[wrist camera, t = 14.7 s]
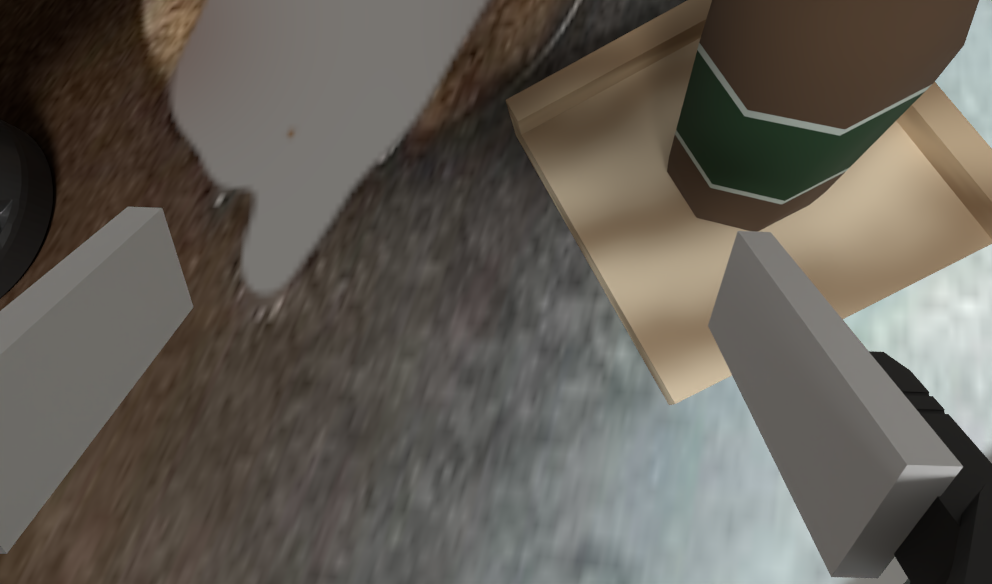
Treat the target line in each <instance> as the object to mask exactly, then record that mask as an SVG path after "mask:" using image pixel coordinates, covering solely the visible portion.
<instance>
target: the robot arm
mask: <svg viewBox="0 0 992 584" xmlns="http://www.w3.org/2000/svg"><path fill="white" fill-rule="evenodd" d="M52 203H53V183H52V176H51V171H50V167H49V164H48V161H47V159H46V157H45V155H44V153H43V151H42V149H41V148H40V146H39V145H38V144H37V143H36V141H35V140H34V139H33V138H32V137H31V136H29V135H28V134H27V133H25V132H24V131H22V130H21V129H19V128H17V127H15V126H13V125H11V124H9V123H7V122H5V121H3V120H1V119H0V298H1V297H2V296H3V295H4V294H5V293H6V292H7V291H8V290H9V289H10V288H11V287H12V286H13V285H14V284H15V283H16V282H17V281H18V280H19V279H20V277H21V276H22V275H23V274H24V272H25V271H26V270H27V268H28V267H29V265H30V264H31V262H32V260H33V259H34V257H35V255H36V254H37V252H38V250H39V248H40V246H41V243H42V241H43V239H44V236H45V234H46V231H47V228H48V224H49V220H50V216H51V211H52ZM192 308H193V304H192V301H191V298H190V295H189V292H188V289H187V285H186V282H185V279H184V276H183V273H182V270H181V266H180V263H179V260H178V257H177V254H176V251H175V247H174V244H173V241H172V238H171V235H170V232H169V228H168V225H167V222H166V219H165V216H164V213H163V209H162V208H146V207H127V208H126V209H125V210H123V211H122V212H121V213H120V214H118V215H117V216H116V217H115V218H114V219H112V220H111V221H110V222H109V223H107V224H106V225H105V226H104V227H103V228H101V229H100V230H99V231H98V232H96V233H95V234H94V235H93V236H92V237H90V238H89V239H88V240H87V241H85V242H84V243H83V244H82V245H81V246H79V247H78V248H77V249H76V250H74V251H73V252H72V253H71V254H70V255H68V256H67V257H66V258H65V259H63V260H62V261H61V262H60V263H59V264H57V265H56V266H55V267H54V268H52V269H51V270H50V271H49V272H48V273H46V274H45V275H44V276H43V277H41V278H40V279H39V280H38V281H37V282H35V283H34V284H33V285H32V286H30V287H29V288H28V289H27V290H26V291H24V292H23V293H22V294H21V295H20V296H18V297H17V298H16V299H15V300H13V301H12V302H11V303H10V304H9V305H7V306H6V307H5V308H4V309H2V310H1V311H0V553H1V554H7V553H8V551H9V550H10V549H11V547H12V546H13V545H14V543H15V542H16V541H17V539H18V538H19V537H20V535H21V534H22V533H23V531H24V530H25V529H26V527H27V526H28V525H29V524H30V522H31V521H32V520H33V518H34V517H35V516H36V514H37V513H38V512H39V510H40V509H41V508H42V506H43V505H44V504H45V502H46V501H47V500H48V498H49V497H50V496H51V494H52V493H53V492H54V491H55V489H56V488H57V487H58V485H59V484H60V483H61V481H62V480H63V479H64V477H65V476H66V475H67V473H68V472H69V471H70V469H71V468H72V467H73V465H74V464H75V463H76V461H77V460H78V459H79V457H80V456H81V455H82V454H83V452H84V451H85V450H86V448H87V447H88V446H89V444H90V443H91V442H92V440H93V439H94V438H95V436H96V435H97V434H98V432H99V431H100V430H101V428H102V427H103V426H104V424H105V423H106V422H107V420H108V419H109V418H110V417H111V415H112V414H113V413H114V411H115V410H116V409H117V407H118V406H119V405H120V403H121V402H122V401H123V399H124V398H125V397H126V395H127V394H128V393H129V391H130V390H131V389H132V387H133V386H134V385H135V383H136V382H137V381H138V380H139V378H140V377H141V376H142V374H143V373H144V372H145V370H146V369H147V368H148V366H149V365H150V364H151V362H152V361H153V360H154V358H155V357H156V356H157V354H158V353H159V352H160V350H161V349H162V348H163V346H164V345H165V344H166V343H167V341H168V340H169V339H170V337H171V336H172V335H173V333H174V332H175V331H176V329H177V328H178V327H179V325H180V324H181V323H182V321H183V320H184V319H185V317H186V316H187V315H188V313H189V312H190V311H191V309H192ZM708 327H709V329H710V331H711V333H712V335H713V337H714V339H715V341H716V343H717V345H718V347H719V349H720V351H721V353H722V355H723V357H724V359H725V361H726V364H727V366H728V368H729V370H730V372H731V374H732V376H733V378H734V380H735V382H736V384H737V386H738V388H739V390H740V392H741V394H742V396H743V398H744V400H745V402H746V404H747V406H748V408H749V410H750V412H751V414H752V416H753V418H754V421H755V423H756V425H757V427H758V429H759V431H760V433H761V435H762V437H763V439H764V441H765V443H766V445H767V447H768V449H769V451H770V453H771V455H772V457H773V459H774V461H775V463H776V465H777V467H778V469H779V471H780V473H781V475H782V477H783V480H784V482H785V484H786V486H787V488H788V490H789V492H790V494H791V496H792V498H793V500H794V502H795V504H796V506H797V508H798V510H799V512H800V514H801V516H802V518H803V520H804V522H805V524H806V526H807V528H808V530H809V532H810V534H811V536H812V539H813V541H814V543H815V545H816V547H817V549H818V551H819V553H820V555H821V557H822V559H823V561H824V563H825V565H826V567H827V569H828V571H829V573H830V575H831V577H854V578H878V577H879V576H880V575H881V574H882V572H883V571H884V570H885V568H886V567H887V566H888V565H889V563H890V562H891V561H892V559H893V558H894V557H896V559H897V560H898V562H899V564H900V565H901V567H902V569H903V570H904V572H905V574H906V575H907V577H908V579H907V581H906V582H905V583H904V584H992V463H991V462H990V461H989V460H988V459H987V458H986V457H985V455H984V454H983V453H982V452H981V451H980V450H979V449H978V447H977V446H976V445H975V444H974V443H973V442H972V441H971V439H970V438H969V437H968V436H967V435H966V434H965V433H964V431H963V430H962V429H961V428H960V427H959V426H958V425H957V423H956V422H955V421H954V420H953V419H952V418H951V417H950V415H949V414H945V413H944V409H943V407H942V406H941V405H940V404H939V403H938V402H937V401H936V399H935V398H934V397H933V396H929V391H928V390H927V389H926V388H925V387H924V386H923V385H922V383H921V382H920V381H919V380H918V379H917V378H916V377H915V376H914V374H913V373H912V372H911V371H910V370H909V369H907V368H906V367H904V366H903V365H901V364H900V363H898V362H897V361H896V360H894V359H893V358H891V357H890V356H888V355H887V354H886V353H884V352H869V351H868V350H867V349H866V348H865V346H864V345H863V344H862V343H861V341H860V340H859V339H858V338H857V337H856V335H855V334H854V333H853V332H852V331H851V329H850V328H849V327H848V326H847V324H846V323H845V322H844V321H843V320H842V318H841V317H840V316H839V315H838V313H837V312H836V311H835V310H834V309H833V307H832V306H831V305H830V304H829V303H828V301H827V300H826V299H825V298H824V296H823V295H822V294H821V293H820V292H819V290H818V289H817V288H816V287H815V285H814V284H813V283H812V282H811V281H810V279H809V278H808V277H807V276H806V274H805V273H804V272H803V271H802V270H801V268H800V267H799V266H798V265H797V264H796V262H795V261H794V260H793V259H792V257H791V256H790V255H789V254H788V253H787V251H786V250H785V249H784V248H783V246H782V245H781V244H780V243H779V242H778V240H777V239H776V238H775V237H774V236H773V234H772V233H771V232H756V231H738V232H737V235H736V238H735V241H734V244H733V248H732V251H731V254H730V257H729V260H728V263H727V267H726V270H725V273H724V276H723V279H722V283H721V286H720V289H719V292H718V295H717V298H716V302H715V305H714V308H713V311H712V314H711V318H710V321H709V324H708Z"/></svg>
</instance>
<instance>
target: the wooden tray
mask: <svg viewBox="0 0 992 584" xmlns="http://www.w3.org/2000/svg"><path fill="white" fill-rule="evenodd" d="M711 2H712V0H687V1H685V2H684V3H682V4H680V5H678V6H676V7H674V8H673V9H671V10H669V11H667V12H665V13H663V14H662V15H660V16H658V17H656V18H654V19H653V20H651V21H649V22H647V23H645V24H643V25H642V26H640V27H638V28H636V29H634V30H632V31H631V32H629V33H627V34H625V35H623V36H621V37H620V38H618V39H616V40H614V41H612V42H611V43H609V44H607V45H605V46H603V47H601V48H600V49H598V50H596V51H594V52H592V53H590V54H589V55H587V56H585V57H583V58H581V59H579V60H578V61H576V62H574V63H572V64H570V65H569V66H567V67H565V68H563V69H561V70H559V71H558V72H556V73H554V74H552V75H550V76H548V77H547V78H545V79H543V80H541V81H539V82H537V83H536V84H534V85H532V86H530V87H528V88H527V89H525V90H523V91H521V92H519V93H517V94H516V95H514V96H512V97H510V98H508V99H506V103H507V107H508V110H509V114H510V117H511V121H512V124H513V128H514V131H515V134H516V137H517V138H518V140H519V142H520V144H521V145H522V147H523V149H524V151H525V152H526V154H527V156H528V158H529V159H530V161H531V163H532V165H533V167H534V168H535V170H536V172H537V174H538V175H539V177H540V179H541V181H542V182H543V184H544V186H545V188H546V189H547V191H548V193H549V195H550V196H551V198H552V200H553V202H554V203H555V205H556V207H557V209H558V211H559V212H560V214H561V216H562V218H563V219H564V221H565V223H566V225H567V226H568V228H569V230H570V232H571V233H572V235H573V237H574V239H575V240H576V242H577V244H578V246H579V247H580V249H581V251H582V253H583V254H584V256H585V258H586V260H587V262H588V263H589V265H590V267H591V269H592V270H593V272H594V274H595V276H596V277H597V279H598V281H599V283H600V284H601V286H602V288H603V290H604V291H605V293H606V295H607V297H608V298H609V300H610V302H611V304H612V305H613V307H614V309H615V311H616V313H617V314H618V316H619V318H620V320H621V321H622V323H623V325H624V327H625V328H626V330H627V332H628V334H629V335H630V337H631V339H632V341H633V342H634V344H635V346H636V348H637V349H638V351H639V353H640V355H641V357H642V358H643V360H644V362H645V364H646V365H647V367H648V369H649V371H650V372H651V374H652V376H653V378H654V379H655V381H656V383H657V385H658V386H659V388H660V390H661V392H662V393H663V395H664V397H665V399H666V400H667V402H668V404H669V405H672V404H676V403H678V402H680V401H682V400H684V399H686V398H688V397H690V396H692V395H694V394H696V393H698V392H700V391H702V390H704V389H706V388H708V387H710V386H712V385H714V384H716V383H718V382H720V381H721V380H723V379H725V378H727V377H729V376H731V375H732V374H731V372H730V370H729V368H728V366H727V364H726V361H725V359H724V357H723V355H722V353H721V351H720V349H719V347H718V345H717V343H716V341H715V339H714V337H713V335H712V333H711V331H710V329H709V327H708V324H709V321H710V318H711V314H712V311H713V308H714V305H715V302H716V298H717V295H718V292H719V289H720V286H721V283H722V279H723V276H724V273H725V270H726V267H727V263H728V260H729V257H730V254H731V251H732V248H733V244H734V241H735V238H736V235H737V232H738V231H748V230H744V229H740V228H736V227H732V226H728V225H724V224H720V223H716V222H711V221H707V220H703V219H699V218H696V216H695V215H694V213H693V212H692V210H691V208H690V207H689V205H688V204H687V202H686V201H685V199H684V197H683V196H682V194H681V193H680V191H679V190H678V188H677V187H676V185H675V183H674V182H673V180H672V179H671V177H670V176H669V174H668V172H667V168H668V160H669V155H670V151H671V147H672V143H673V140H674V136H675V132H676V128H677V125H678V121H679V117H680V113H681V109H682V106H683V102H684V98H685V94H686V91H687V87H688V83H689V79H690V75H691V72H692V68H693V64H694V60H695V57H696V53H697V49H698V45H699V42H700V38H701V35H702V32H703V29H704V25H705V22H706V19H707V15H708V12H709V9H710V6H711ZM758 232H771V233H772V234H773V236H774V237H775V238H776V239H777V240H778V242H779V243H780V244H781V245H782V246H783V248H784V249H785V250H786V251H787V253H788V254H789V255H790V256H791V257H792V259H793V260H794V261H795V262H796V264H797V265H798V266H799V267H800V268H801V270H802V271H803V272H804V273H805V274H806V276H807V277H808V278H809V279H810V281H811V282H812V283H813V284H814V285H815V287H816V288H817V289H818V290H819V292H820V293H821V294H822V295H823V296H824V298H825V299H826V300H827V301H828V303H829V304H830V305H831V306H832V307H833V309H834V310H835V311H836V312H837V313H838V315H839V316H840V317H841V318H842V319H844V318H846V317H848V316H850V315H852V314H854V313H856V312H858V311H860V310H862V309H864V308H866V307H868V306H870V305H872V304H874V303H876V302H878V301H880V300H881V299H883V298H885V297H887V296H889V295H891V294H893V293H895V292H897V291H899V290H901V289H903V288H905V287H907V286H909V285H911V284H913V283H915V282H917V281H919V280H921V279H923V278H925V277H927V276H929V275H931V274H933V273H935V272H937V271H939V270H941V269H943V268H945V267H947V266H949V265H951V264H953V263H955V262H957V261H959V260H961V259H962V258H964V257H966V256H968V255H970V254H972V253H974V252H976V251H978V250H980V249H982V248H984V247H986V246H988V245H990V244H992V149H991V148H990V146H989V145H988V144H987V143H986V142H985V140H984V139H983V138H982V137H981V136H980V135H979V133H978V132H977V131H976V130H975V129H974V127H973V126H972V125H971V124H970V123H969V122H968V120H967V119H966V118H965V117H964V116H963V115H962V113H961V112H960V111H959V110H958V109H957V107H956V106H955V105H954V104H953V103H952V102H951V100H950V99H949V98H948V97H947V96H946V94H945V93H944V92H943V91H942V90H941V89H940V87H939V86H938V85H937V84H936V83H935V82H934V83H933V84H932V85H931V86H930V87H929V88H928V89H927V90H926V91H925V92H924V93H923V94H922V95H921V96H920V97H919V98H918V99H917V100H916V101H915V102H914V103H913V104H912V105H911V106H910V107H909V108H908V109H907V110H906V111H905V112H904V113H903V114H902V115H901V116H900V117H899V118H898V119H897V120H896V121H895V122H894V123H893V124H892V125H891V126H890V127H889V128H888V129H887V130H886V131H885V133H884V134H883V135H882V136H881V137H880V138H879V139H878V140H877V141H876V142H875V143H874V144H873V145H872V146H871V147H870V148H869V149H868V150H867V151H866V152H865V153H864V154H863V155H862V156H861V157H860V158H859V159H858V160H857V161H856V162H855V163H854V164H853V165H852V166H851V167H850V168H849V169H848V170H847V171H846V172H845V173H844V174H843V175H842V176H841V177H840V178H839V179H838V180H837V181H836V182H835V183H834V184H833V185H832V186H831V187H830V188H829V189H828V190H827V191H826V192H825V193H824V194H823V195H821V196H820V197H819V198H818V199H816V200H815V201H814V202H813V203H811V204H810V205H808V206H807V207H805V208H803V209H801V210H799V211H797V212H795V213H793V214H791V215H789V216H787V217H785V218H783V219H781V220H779V221H777V222H775V223H773V224H772V225H770V226H768V227H766V228H764V229H762V230H760V231H758Z"/></svg>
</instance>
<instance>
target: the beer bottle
mask: <svg viewBox="0 0 992 584" xmlns="http://www.w3.org/2000/svg"><path fill="white" fill-rule="evenodd" d="M978 2H979V0H712V2H711V6H710V9H709V12H708V15H707V19H706V22H705V25H704V29H703V32H702V35H701V38H700V42H699V45H698V49H697V53H696V57H695V60H694V64H693V68H692V72H691V75H690V79H689V83H688V87H687V91H686V94H685V98H684V102H683V106H682V109H681V113H680V117H679V121H678V125H677V128H676V132H675V136H674V140H673V143H672V147H671V151H670V155H669V160H668V168H667V172H668V174H669V176H670V177H671V179H672V180H673V182H674V183H675V185H676V187H677V188H678V190H679V191H680V193H681V194H682V196H683V197H684V199H685V201H686V202H687V204H688V205H689V207H690V208H691V210H692V212H693V213H694V215H695V216H696V218H699V219H703V220H707V221H711V222H716V223H720V224H724V225H728V226H732V227H736V228H740V229H744V230H748V231H756V232H758V231H760V230H762V229H764V228H766V227H768V226H770V225H772V224H773V223H775V222H777V221H779V220H781V219H783V218H785V217H787V216H789V215H791V214H793V213H795V212H797V211H799V210H801V209H803V208H805V207H807V206H808V205H810V204H811V203H813V202H814V201H815V200H816V199H818V198H819V197H820V196H821V195H823V194H824V193H825V192H826V191H827V190H828V189H829V188H830V187H831V186H832V185H833V184H834V183H835V182H836V181H837V180H838V179H839V178H840V177H841V176H842V175H843V174H844V173H845V172H846V171H847V170H848V169H849V168H850V167H851V166H852V165H853V164H854V163H855V162H856V161H857V160H858V159H859V158H860V157H861V156H862V155H863V154H864V153H865V152H866V151H867V150H868V149H869V148H870V147H871V146H872V145H873V144H874V143H875V142H876V141H877V140H878V139H879V138H880V137H881V136H882V135H883V134H884V133H885V131H886V130H887V129H888V128H889V127H890V126H891V125H892V124H893V123H894V122H895V121H896V120H897V119H898V118H899V117H900V116H901V115H902V114H903V113H904V112H905V111H906V110H907V109H908V108H909V107H910V106H911V105H912V104H913V103H914V102H915V101H916V100H917V99H918V98H919V97H920V96H921V95H922V94H923V93H924V92H925V91H926V90H927V89H928V88H929V87H930V86H931V85H932V84H933V83H934V82H935V80H936V79H937V78H938V77H939V75H940V74H941V73H942V72H943V70H944V69H945V68H946V67H947V65H948V64H949V63H950V62H951V60H952V59H953V58H954V57H955V56H956V54H957V53H958V52H959V51H960V49H961V48H962V47H963V46H964V43H965V40H966V37H967V34H968V31H969V28H970V25H971V22H972V20H973V17H974V14H975V11H976V8H977V5H978Z"/></svg>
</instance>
